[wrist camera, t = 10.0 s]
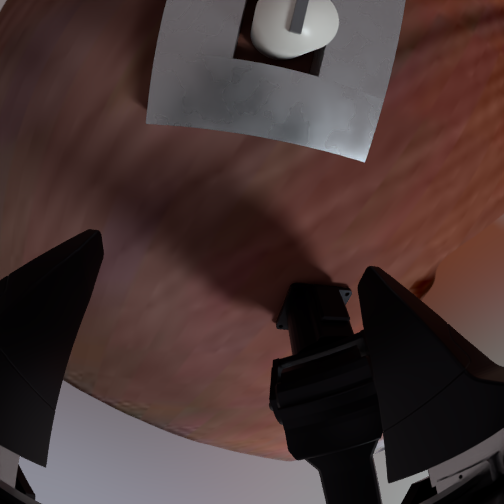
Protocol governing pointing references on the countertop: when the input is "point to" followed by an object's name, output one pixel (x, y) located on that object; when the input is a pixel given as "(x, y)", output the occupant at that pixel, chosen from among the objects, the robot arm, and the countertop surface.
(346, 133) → the plate
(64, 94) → the countertop surface
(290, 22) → the knob
